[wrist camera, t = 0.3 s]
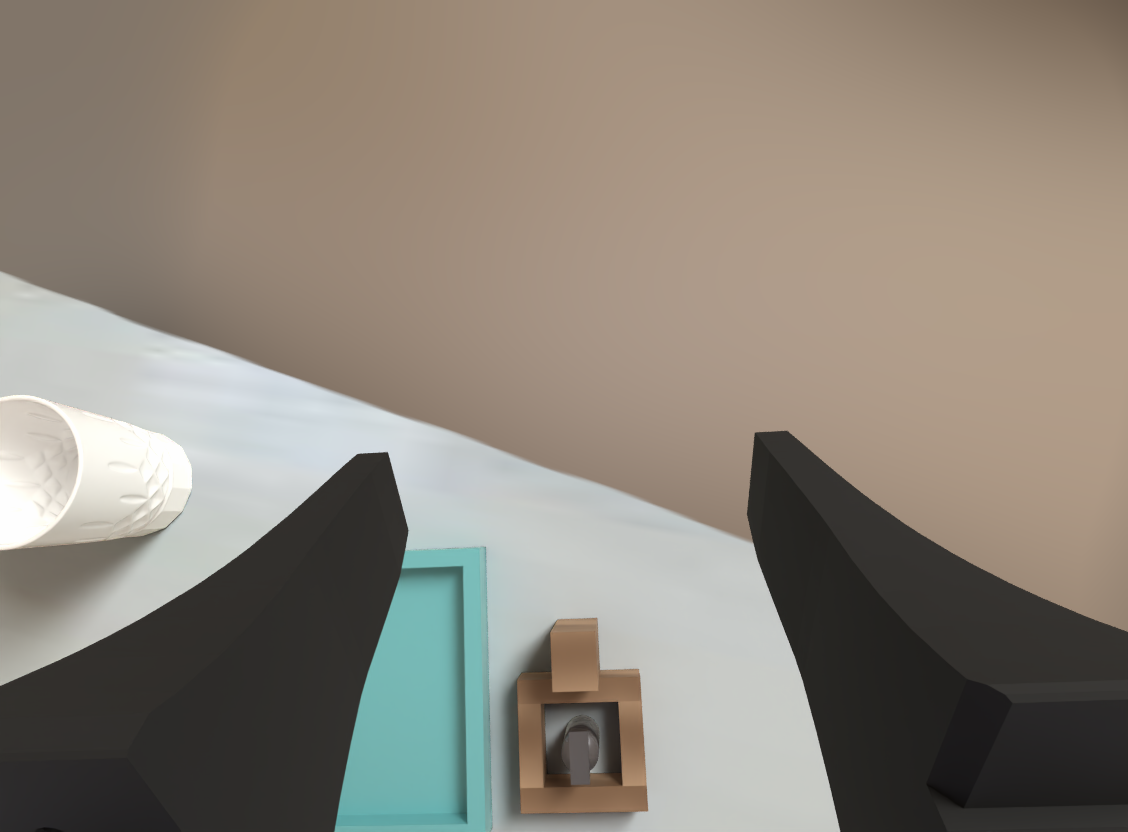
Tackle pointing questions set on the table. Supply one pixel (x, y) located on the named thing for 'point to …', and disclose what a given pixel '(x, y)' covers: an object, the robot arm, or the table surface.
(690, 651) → the table surface
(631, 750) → the collar
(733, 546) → the table surface
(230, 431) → the table surface
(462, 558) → the tray
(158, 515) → the white cup
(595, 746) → the stake
